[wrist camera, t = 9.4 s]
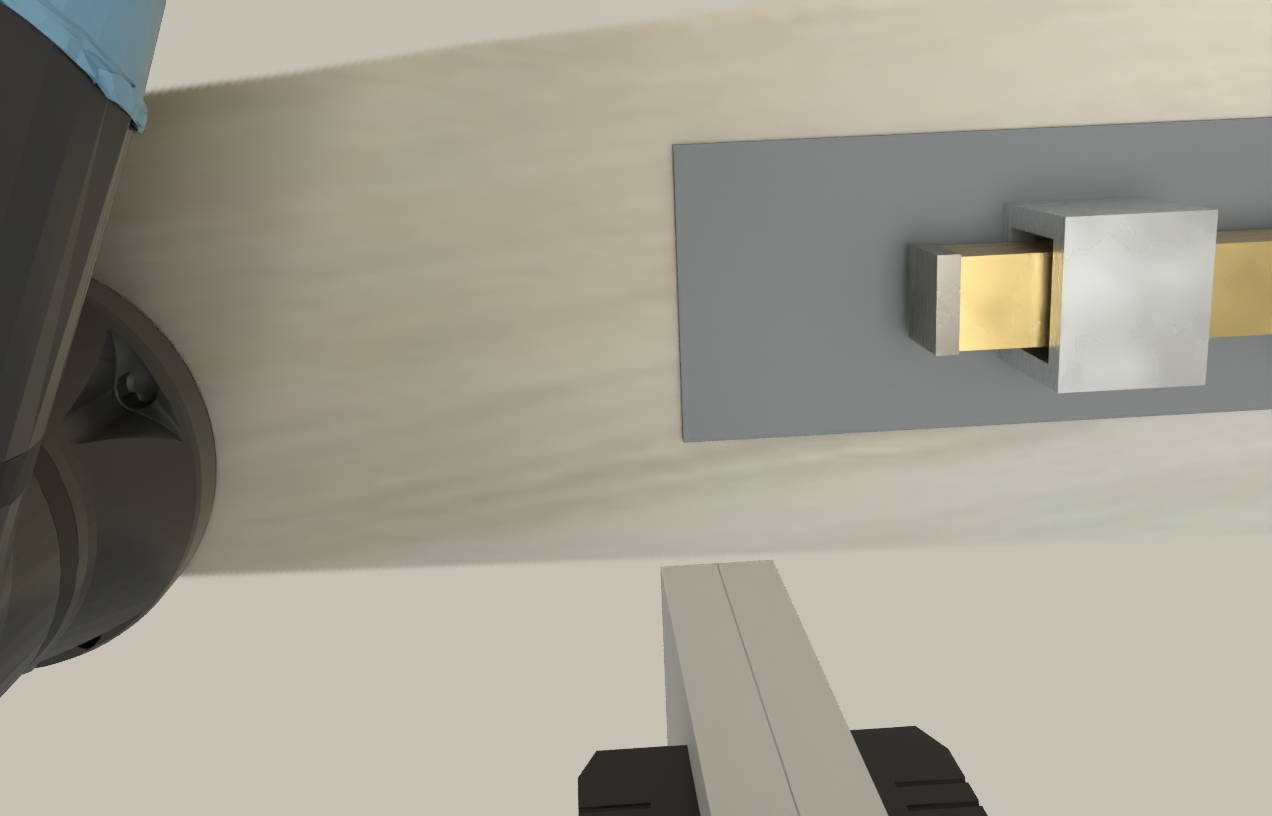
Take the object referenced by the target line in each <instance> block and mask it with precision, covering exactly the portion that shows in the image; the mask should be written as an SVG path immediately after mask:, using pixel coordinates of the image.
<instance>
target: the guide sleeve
mask: <svg viewBox="0 0 1272 816" xmlns="http://www.w3.org/2000/svg"><path fill="white" fill-rule="evenodd" d="M1217 221H1218V209H1212V208H1206V207H1200V206H1193V205H1187V204H1181V203H1175V202H1169V201H1163V200H1157V199H1151V198H1145V197H1139V196H1133V197H1113V198H1092V199H1072V200H1051V201H1031V202H1010V203H1003V230H1002V242H1020V241H1040V240H1054V242H1053V265H1052V289H1051V313H1050V337H1049V346H1046V347H1027V348H1009V349H999V357H998V358H999V359H1001V360H1002V361H1004V362H1006V363H1007V364H1009V365H1011V366H1012V367H1014V368H1016V369H1018V370H1019V371H1021V372H1023V373H1024V374H1026V375H1028V376H1029V377H1031V378H1033V379H1034V380H1036V381H1038V382H1040V383H1041V384H1043V385H1045V386H1046V387H1048V388H1050V389H1051V390H1053V391H1055V392H1056V393H1073V392H1091V391H1109V390H1127V389H1144V388H1162V387H1180V386H1198V385H1205V381H1206V368H1207V355H1208V341H1209V328H1210V315H1211V301H1212V288H1213V274H1214V261H1215V248H1216V234H1217Z"/></svg>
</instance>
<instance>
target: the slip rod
mask: <svg viewBox="0 0 1272 816" xmlns="http://www.w3.org/2000/svg"><path fill="white" fill-rule="evenodd" d="M1053 242H1054V240H1040V241H1020V242H1000V243H980V244H960V245H940V246H938V245H936V244H933V243H917V244H909V312H908V337H909V338H910V339H912V340H913V341H915V342H916V343H917V344H919V345H920V346H922V347H923V348H925V349H926V350H928V351H929V352H931V353H932V354H933V355H935V356H945V355H959V351H972V350H990V349H1009V348H1027V347H1046V346H1049V337H1050V313H1051V289H1052V265H1053ZM1268 334H1272V229H1259V230H1239V231H1219V232H1217V234H1216V248H1215V261H1214V274H1213V288H1212V301H1211V315H1210V328H1209V338H1212V337H1231V336H1249V335H1268Z"/></svg>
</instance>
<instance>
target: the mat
mask: <svg viewBox="0 0 1272 816" xmlns="http://www.w3.org/2000/svg"><path fill="white" fill-rule="evenodd" d="M673 165H674V194H675V223H676V251H677V280H678V309H679V338H680V367H681V396H682V424H683V442H701V441H719V440H736V439H754V438H772V437H789V436H807V435H824V434H842V433H860V432H877V431H895V430H913V429H930V428H948V427H965V426H983V425H1001V424H1018V423H1036V422H1053V421H1071V420H1089V419H1106V418H1124V417H1142V416H1159V415H1177V414H1194V413H1212V412H1230V411H1247V410H1265V409H1272V334H1268V335H1249V336H1231V337H1212V338H1209V341H1208V355H1207V368H1206V381H1205V385H1198V386H1180V387H1162V388H1144V389H1127V390H1109V391H1091V392H1073V393H1056V392H1055V391H1053V390H1051V389H1050V388H1048V387H1046V386H1045V385H1043V384H1041V383H1040V382H1038V381H1036V380H1034V379H1033V378H1031V377H1029V376H1028V375H1026V374H1024V373H1023V372H1021V371H1019V370H1018V369H1016V368H1014V367H1012V366H1011V365H1009V364H1007V363H1006V362H1004V361H1002V360H1001V359H999V358H998V357H999V349H990V350H972V351H959V355H945V356H935V355H933V354H932V353H931V352H929V351H928V350H926V349H925V348H923V347H922V346H920V345H919V344H917V343H916V342H915V341H913V340H912V339H910V338H909V337H908V312H909V244H917V243H933V244H936V245H938V246H940V245H960V244H980V243H1000V242H1002V230H1003V203H1010V202H1031V201H1051V200H1072V199H1092V198H1113V197H1133V196H1139V197H1145V198H1151V199H1157V200H1163V201H1169V202H1175V203H1181V204H1187V205H1193V206H1200V207H1206V208H1212V209H1218V221H1217V232H1219V231H1239V230H1259V229H1272V117H1268V118H1246V119H1224V120H1203V121H1181V122H1159V123H1137V124H1116V125H1094V126H1072V127H1050V128H1029V129H1007V130H985V131H964V132H942V133H920V134H898V135H877V136H855V137H833V138H811V139H790V140H768V141H746V142H725V143H703V144H681V145H673Z"/></svg>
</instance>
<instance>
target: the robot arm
mask: <svg viewBox="0 0 1272 816" xmlns="http://www.w3.org/2000/svg"><path fill="white" fill-rule="evenodd" d="M165 4H166V0H0V697H1V696H2V695H3V694H4V693H5V692H6V691H7V690H8V689H9V688H10V686H11V685H12V684H13V683H14V682H15V681H16V680H17V679H18V678H19V677H20V676H21V675H22V674H25V673H28V672H30V671H32V670H33V669H34V668H39V667H44V666H48V665H52V664H55V663H59V662H62V661H65V660H68V659H71V658H74V657H77V656H80V655H82V654H84V653H87V652H89V651H91V650H94V649H96V648H98V647H99V646H101V645H103V644H105V643H107V642H109V641H110V640H112V639H113V638H115V637H117V636H118V635H120V634H121V633H123V632H124V631H125V630H127V629H128V628H130V627H131V626H132V625H134V624H135V623H136V622H138V621H139V620H140V619H141V618H142V617H143V616H144V615H146V614H147V613H148V612H149V611H150V609H152V608H153V607H154V606H155V605H156V603H157V602H158V601H159V600H160V599H161V598H162V596H163V595H164V594H165V593H166V591H167V590H168V589H169V588H170V587H171V586H172V584H173V583H174V582H175V581H176V579H177V578H178V577H179V576H180V575H181V573H182V572H183V570H184V569H185V568H186V566H187V565H188V563H189V562H190V560H191V558H192V557H193V555H194V553H195V552H196V550H197V548H198V546H199V543H200V541H201V539H202V537H203V534H204V532H205V529H206V527H207V523H208V520H209V517H210V513H211V509H212V504H213V499H214V492H215V482H216V457H215V447H214V440H213V435H212V430H211V425H210V421H209V418H208V414H207V411H206V408H205V405H204V402H203V400H202V397H201V395H200V392H199V390H198V388H197V386H196V384H195V382H194V380H193V378H192V376H191V374H190V372H189V370H188V369H187V367H186V366H185V364H184V362H183V361H182V359H181V358H180V356H179V355H178V353H177V352H176V351H175V349H174V348H173V347H172V345H171V344H170V343H169V341H168V340H167V339H166V338H165V337H164V336H163V334H162V333H161V332H160V331H159V330H158V329H157V328H156V327H155V326H154V325H153V324H152V323H151V322H150V321H149V320H148V319H147V318H146V317H145V316H144V315H143V314H142V313H141V312H140V311H138V310H137V309H136V308H135V307H134V306H132V305H131V304H130V303H129V302H127V301H126V300H125V299H123V298H122V297H121V296H119V295H118V294H116V293H115V292H113V291H112V290H110V289H109V288H107V287H105V286H104V285H102V284H100V283H98V282H97V281H95V280H93V279H91V276H92V272H93V269H94V266H95V262H96V259H97V255H98V252H99V248H100V245H101V241H102V238H103V234H104V231H105V227H106V224H107V221H108V217H109V214H110V210H111V207H112V203H113V200H114V196H115V193H116V189H117V186H118V183H119V179H120V176H121V172H122V169H123V165H124V162H125V158H126V155H127V151H128V148H129V144H130V141H131V138H132V134H133V133H138V134H142V133H143V131H144V129H145V126H146V123H147V118H148V110H147V107H146V105H145V103H144V101H143V96H144V92H145V88H146V84H147V80H148V75H149V71H150V67H151V63H152V59H153V54H154V50H155V46H156V42H157V38H158V34H159V30H160V25H161V21H162V17H163V12H164V9H165ZM661 590H662V614H663V639H664V663H665V687H666V712H667V738H668V746H662V747H648V748H633V749H618V750H603V751H596V752H595V754H594V755H593V757H592V758H591V760H590V761H589V763H588V764H587V766H586V767H585V769H584V770H583V771H582V773H581V775H580V776H579V777H578V805H579V806H578V807H579V816H987V814H986V812H985V810H984V809H983V807H982V806H979V802H978V798H977V797H976V795H975V793H974V792H973V790H972V788H971V787H970V785H969V783H966V782H965V776H964V775H963V773H962V771H961V770H960V768H959V766H958V765H957V763H956V761H955V760H954V758H953V756H952V755H951V753H950V751H949V750H948V748H946V747H945V746H943V745H941V744H940V743H939V742H938V741H936V740H935V739H933V738H932V737H930V736H929V735H928V734H926V733H925V732H923V731H922V730H920V729H919V728H917V727H916V726H908V727H893V728H880V729H879V728H878V729H864V730H849V728H848V725H847V723H846V721H845V719H844V717H843V714H842V712H841V710H840V708H839V705H838V703H837V701H836V699H835V697H834V695H833V692H832V690H831V688H830V686H829V683H828V681H827V679H826V677H825V675H824V672H823V670H822V668H821V666H820V664H819V661H818V659H817V657H816V655H815V652H814V650H813V648H812V646H811V644H810V641H809V639H808V637H807V635H806V632H805V630H804V628H803V626H802V624H801V621H800V619H799V617H798V615H797V613H796V610H795V608H794V606H793V604H792V601H791V599H790V597H789V595H788V593H787V590H786V588H785V586H784V584H783V581H782V579H781V577H780V575H779V573H778V570H777V568H776V566H775V564H774V562H773V560H765V561H748V562H733V563H717V564H701V565H700V564H699V565H685V566H684V565H683V566H667V567H661Z"/></svg>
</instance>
